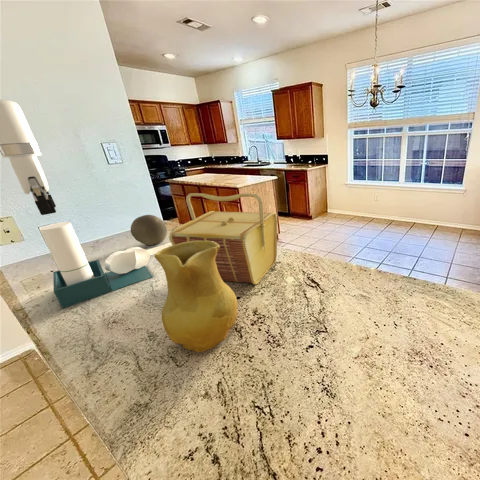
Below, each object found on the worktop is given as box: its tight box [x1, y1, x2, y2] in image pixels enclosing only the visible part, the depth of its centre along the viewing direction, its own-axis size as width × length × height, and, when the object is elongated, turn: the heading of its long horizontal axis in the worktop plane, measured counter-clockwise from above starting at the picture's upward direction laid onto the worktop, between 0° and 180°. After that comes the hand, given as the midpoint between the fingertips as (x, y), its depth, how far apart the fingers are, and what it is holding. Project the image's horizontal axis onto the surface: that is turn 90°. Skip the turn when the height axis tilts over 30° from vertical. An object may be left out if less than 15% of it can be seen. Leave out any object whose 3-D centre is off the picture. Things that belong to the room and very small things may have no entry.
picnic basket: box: [168, 192, 278, 286], centre depth 94 cm, size 29×26×30 cm
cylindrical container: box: [38, 221, 95, 286], centre depth 85 cm, size 7×7×25 cm
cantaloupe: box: [130, 214, 168, 246], centre depth 126 cm, size 14×14×15 cm
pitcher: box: [153, 240, 239, 353], centre depth 65 cm, size 17×19×25 cm
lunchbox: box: [52, 259, 154, 309], centre depth 95 cm, size 25×18×7 cm
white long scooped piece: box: [103, 242, 172, 274], centre depth 112 cm, size 38×8×4 cm
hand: (49, 210), depth 79 cm, fingers open, 9 cm apart
